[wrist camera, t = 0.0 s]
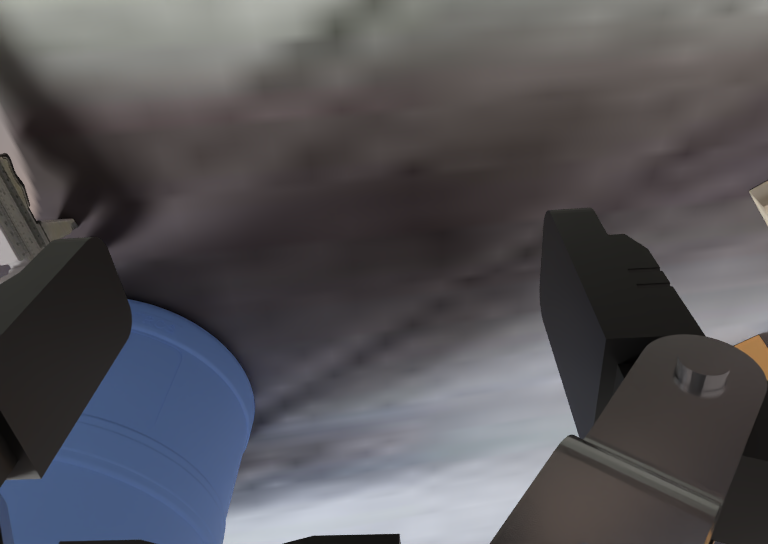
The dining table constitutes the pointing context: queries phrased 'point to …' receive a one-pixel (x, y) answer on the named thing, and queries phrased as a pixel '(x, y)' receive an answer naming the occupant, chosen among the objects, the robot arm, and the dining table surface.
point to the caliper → (22, 223)
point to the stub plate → (761, 199)
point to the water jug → (146, 445)
